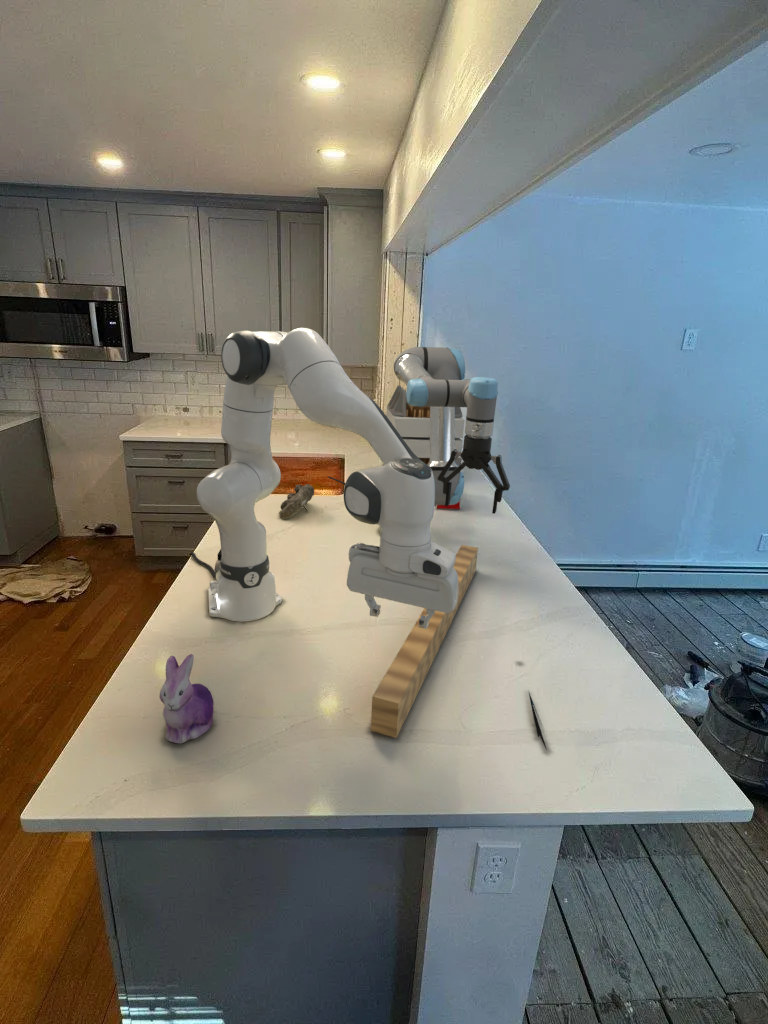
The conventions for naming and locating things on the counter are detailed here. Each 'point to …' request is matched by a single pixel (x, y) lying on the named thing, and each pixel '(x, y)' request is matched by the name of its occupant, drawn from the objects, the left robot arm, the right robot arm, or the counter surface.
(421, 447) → the transformer
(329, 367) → the left robot arm
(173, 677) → the figurine
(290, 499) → the fossil
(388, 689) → the bar
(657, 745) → the counter surface
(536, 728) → the feather
